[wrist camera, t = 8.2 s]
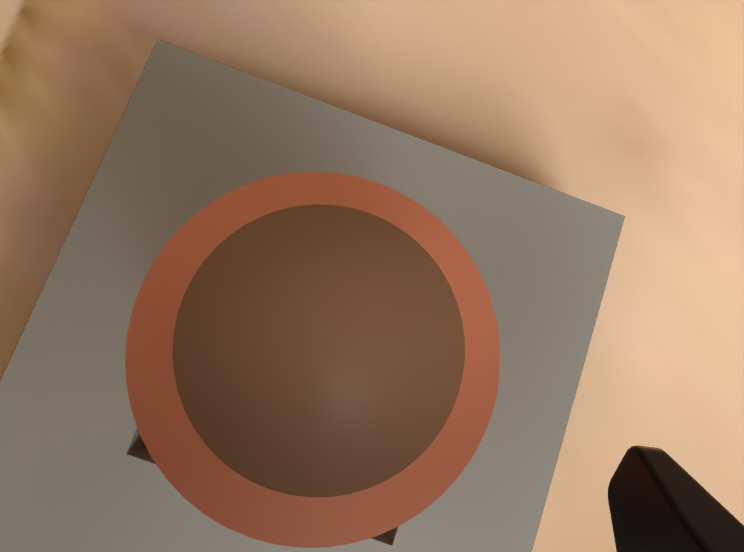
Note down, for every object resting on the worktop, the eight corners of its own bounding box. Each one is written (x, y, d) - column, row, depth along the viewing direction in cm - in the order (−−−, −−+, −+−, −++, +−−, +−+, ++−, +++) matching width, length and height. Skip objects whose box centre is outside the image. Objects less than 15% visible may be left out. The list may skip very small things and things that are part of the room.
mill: (401, 437, 17) (570, 518, 7) (235, 471, 17) (130, 621, 6) (370, 277, 18) (481, 116, 7) (210, 304, 18) (74, 171, 7)
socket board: (447, 674, 17) (480, 735, 14) (-10, 521, 16) (-78, 550, 13) (573, 242, 19) (624, 216, 16) (179, 94, 18) (157, 39, 15)
